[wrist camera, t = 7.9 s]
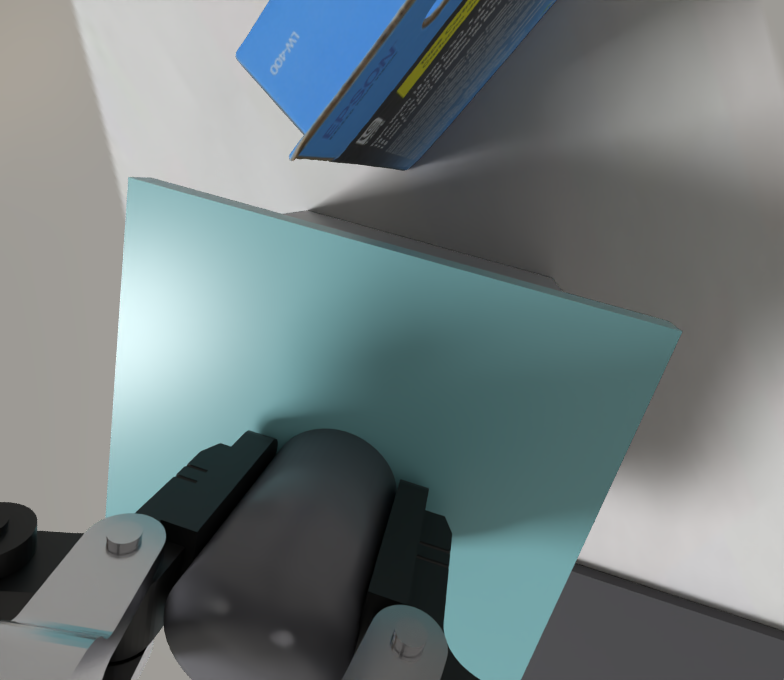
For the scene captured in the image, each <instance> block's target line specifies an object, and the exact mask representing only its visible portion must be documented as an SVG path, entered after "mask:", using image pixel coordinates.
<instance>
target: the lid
mask: <svg viewBox="0 0 784 680" xmlns="http://www.w3.org/2000/svg"><path fill="white" fill-rule="evenodd" d="M681 334H682V331H681V330H680V329H678V328H677V327H676V326H674V325H673V324H672V323H670V322H669V321H666V320H663V319H659V318H655V317H652V316H648V315H645V314H641V313H637V312H634V311H630V310H627V309H623V308H619V307H616V306H612V305H609V304H605V303H601V302H598V301H594V300H591V299H587V298H583V297H580V296H576V295H572V294H569V293H565V292H562V291H558V290H554V289H551V288H547V287H544V286H540V285H536V284H533V283H529V282H526V281H522V280H518V279H515V278H511V277H508V276H504V275H500V274H497V273H493V272H490V271H486V270H482V269H479V268H475V267H471V266H468V265H464V264H461V263H457V262H453V261H450V260H446V259H443V258H439V257H435V256H432V255H428V254H425V253H421V252H417V251H414V250H410V249H407V248H403V247H399V246H396V245H392V244H389V243H385V242H381V241H378V240H374V239H370V238H367V237H363V236H360V235H356V234H352V233H349V232H345V231H342V230H338V229H334V228H331V227H327V226H324V225H320V224H316V223H313V222H309V221H306V220H302V219H298V218H295V217H291V216H288V215H284V214H280V213H277V212H273V211H269V210H266V209H262V208H259V207H255V206H251V205H248V204H244V203H241V202H237V201H233V200H230V199H226V198H223V197H219V196H215V195H212V194H208V193H205V192H201V191H197V190H194V189H190V188H187V187H183V186H179V185H176V184H172V183H168V182H165V181H161V180H158V179H154V178H140V177H128V192H127V206H126V221H125V236H124V251H123V266H122V282H121V295H120V310H119V325H118V340H117V356H116V370H115V384H114V399H113V414H112V429H111V444H110V445H111V446H110V458H109V473H108V488H107V504H106V518H107V517H110V516H114V515H118V514H126V513H135V512H136V511H137V510H139V509H140V508H141V507H142V506H143V505H144V504H145V503H146V502H147V501H148V500H149V499H150V498H151V497H152V496H153V495H155V494H156V493H157V492H158V491H159V490H160V489H161V488H162V487H163V486H164V485H165V484H166V483H167V482H168V481H169V480H171V479H172V478H173V477H176V474H177V473H178V472H179V471H180V470H181V469H182V468H183V467H184V466H187V464H188V463H189V462H190V461H191V460H192V459H193V458H194V457H195V456H196V455H197V454H198V453H199V452H200V451H202V450H205V449H207V448H209V447H212V446H214V445H217V444H219V443H222V444H225V445H228V446H232V445H233V444H234V443H235V442H236V441H237V440H238V439H239V438H240V437H241V436H242V435H243V434H244V433H245V432H246V431H248V430H250V431H253V432H256V433H259V434H262V435H266V436H269V437H272V438H275V439H277V441H278V447H277V452H276V455H275V457H274V458H273V459H272V460H271V462H270V463H269V464H268V466H267V467H266V468H265V470H264V471H263V472H262V473H261V475H260V476H259V477H258V479H257V480H256V481H255V482H254V484H253V485H252V486H251V488H250V489H249V490H248V491H247V493H246V494H245V495H244V497H243V498H242V499H241V500H240V502H239V503H238V504H237V506H236V507H235V508H234V509H233V511H232V512H231V513H230V515H229V516H228V517H227V518H226V520H225V521H224V522H223V524H222V525H221V526H220V527H219V529H218V530H217V531H216V533H215V534H214V535H213V536H212V538H211V539H210V540H209V542H208V543H207V544H206V545H205V547H204V548H203V549H202V551H201V552H200V553H199V554H198V556H197V557H196V558H195V560H194V561H193V562H192V563H191V565H190V566H189V567H188V569H187V570H186V571H185V573H184V574H183V575H182V576H181V578H180V579H179V580H178V582H177V583H176V584H175V585H174V587H173V588H172V590H171V592H170V593H169V595H168V598H167V600H166V603H165V608H164V616H163V623H164V631H165V635H166V639H167V642H168V645H169V646H170V650H171V652H172V653H173V655H174V657H175V659H176V660H177V662H178V664H179V665H180V666H181V668H182V669H183V670H184V672H185V673H186V674H187V675H188V676H189V677H190V678H191V679H192V680H342V678H343V676H344V674H345V672H346V670H347V668H348V667H349V665H350V663H351V661H352V659H353V656H354V653H355V649H356V645H357V641H358V636H359V619H360V616H361V613H362V609H363V606H364V602H365V599H366V595H367V592H368V588H369V585H370V582H371V578H372V575H373V571H374V568H375V564H376V561H377V557H378V554H379V550H380V547H381V544H382V540H383V537H384V533H385V530H386V526H387V523H388V519H389V516H390V513H391V509H392V506H393V502H394V499H395V495H396V492H397V489H398V485H399V482H400V479H402V480H405V481H408V482H411V483H414V484H417V485H421V486H424V487H427V488H429V492H428V498H427V503H426V509H425V510H427V511H430V512H433V513H436V514H439V515H442V516H445V518H446V520H447V522H448V525H449V527H450V530H451V532H452V542H451V551H450V563H449V568H448V569H449V574H448V584H447V595H446V605H445V616H444V634H445V637H446V640H447V644H448V646H449V648H450V650H451V652H452V653H453V655H454V656H455V658H456V659H457V660H458V661H459V662H460V664H461V665H462V666H463V667H464V668H466V669H467V670H468V671H469V672H470V673H472V674H473V675H474V676H476V677H477V678H479V679H480V680H521V678H522V676H523V674H524V672H525V670H526V668H527V665H528V663H529V661H530V659H531V657H532V655H533V653H534V650H535V648H536V646H537V644H538V642H539V640H540V637H541V635H542V633H543V631H544V629H545V627H546V625H547V622H548V620H549V618H550V616H551V614H552V612H553V609H554V607H555V605H556V603H557V601H558V599H559V597H560V594H561V592H562V590H563V588H564V586H565V584H566V581H567V579H568V577H569V575H570V573H571V571H572V569H573V566H574V564H575V562H576V560H577V558H578V556H579V553H580V551H581V549H582V547H583V545H584V543H585V540H586V538H587V536H588V534H589V532H590V530H591V528H592V525H593V523H594V521H595V519H596V517H597V515H598V512H599V510H600V508H601V506H602V504H603V502H604V500H605V497H606V495H607V493H608V491H609V489H610V487H611V484H612V482H613V480H614V478H615V476H616V474H617V472H618V469H619V467H620V465H621V463H622V461H623V459H624V456H625V454H626V452H627V450H628V448H629V446H630V444H631V441H632V439H633V437H634V435H635V433H636V431H637V428H638V426H639V424H640V422H641V420H642V418H643V415H644V413H645V411H646V409H647V407H648V405H649V403H650V400H651V398H652V396H653V394H654V392H655V390H656V387H657V385H658V383H659V381H660V379H661V377H662V375H663V372H664V370H665V368H666V366H667V364H668V362H669V359H670V357H671V355H672V353H673V351H674V349H675V347H676V344H677V342H678V340H679V338H680V336H681Z"/></svg>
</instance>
